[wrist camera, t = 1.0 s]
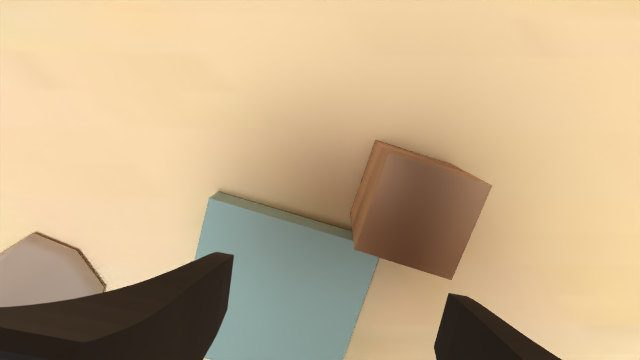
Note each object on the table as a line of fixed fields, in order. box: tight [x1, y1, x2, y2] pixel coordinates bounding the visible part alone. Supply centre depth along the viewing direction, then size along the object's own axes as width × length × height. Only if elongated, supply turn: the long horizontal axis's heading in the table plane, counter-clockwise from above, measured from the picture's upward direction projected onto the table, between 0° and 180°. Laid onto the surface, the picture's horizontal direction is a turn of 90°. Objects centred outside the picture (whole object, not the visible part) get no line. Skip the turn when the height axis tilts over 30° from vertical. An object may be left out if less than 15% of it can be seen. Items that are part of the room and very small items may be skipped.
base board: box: [195, 192, 379, 360], centre depth 21 cm, size 10×10×2 cm
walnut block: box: [350, 140, 492, 280], centre depth 18 cm, size 4×4×6 cm
